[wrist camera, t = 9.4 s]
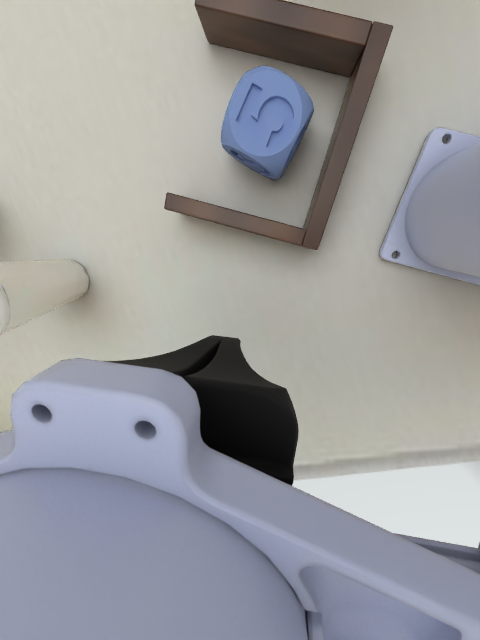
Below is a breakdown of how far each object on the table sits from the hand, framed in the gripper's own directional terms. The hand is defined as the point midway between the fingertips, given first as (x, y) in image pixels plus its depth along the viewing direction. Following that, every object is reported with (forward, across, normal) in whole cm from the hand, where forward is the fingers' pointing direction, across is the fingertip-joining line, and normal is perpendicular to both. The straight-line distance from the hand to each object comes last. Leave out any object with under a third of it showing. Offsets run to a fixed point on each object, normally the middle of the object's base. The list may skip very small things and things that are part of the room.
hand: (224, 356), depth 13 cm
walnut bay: (+9, 0, -11) cm, 15 cm away
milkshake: (+10, +15, -1) cm, 18 cm away
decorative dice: (+10, 0, -11) cm, 15 cm away
